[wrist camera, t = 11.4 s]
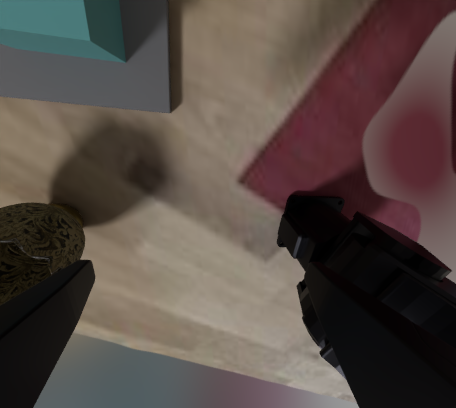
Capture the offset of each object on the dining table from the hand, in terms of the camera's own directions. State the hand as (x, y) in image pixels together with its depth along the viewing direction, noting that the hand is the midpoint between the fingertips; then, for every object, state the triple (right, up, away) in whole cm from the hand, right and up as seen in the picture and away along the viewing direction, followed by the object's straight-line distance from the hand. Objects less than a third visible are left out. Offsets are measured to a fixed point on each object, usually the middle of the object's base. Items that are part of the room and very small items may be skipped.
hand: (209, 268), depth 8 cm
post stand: (-9, +16, +4) cm, 19 cm away
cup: (-15, +2, +11) cm, 18 cm away
